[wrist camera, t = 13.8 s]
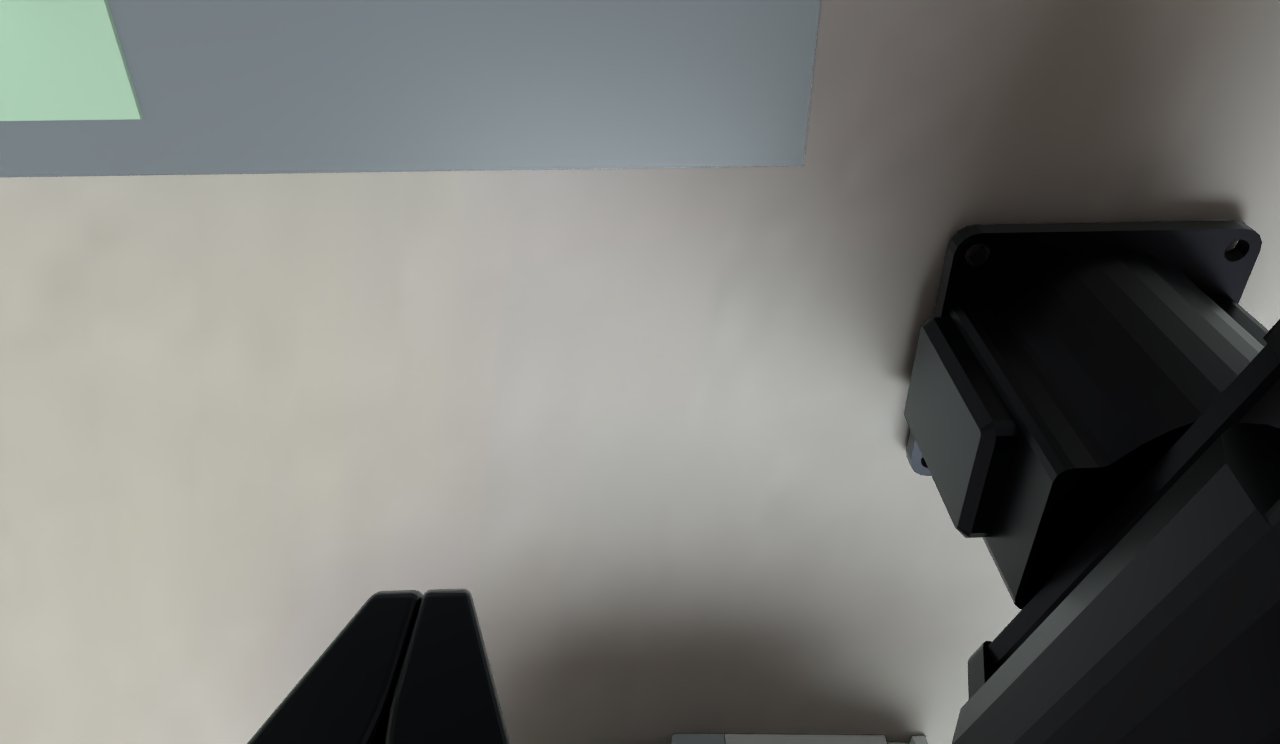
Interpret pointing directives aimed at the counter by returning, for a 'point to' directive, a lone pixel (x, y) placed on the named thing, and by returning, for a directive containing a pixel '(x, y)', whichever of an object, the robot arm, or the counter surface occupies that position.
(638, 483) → the counter surface
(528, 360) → the counter surface
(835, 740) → the circuit breaker
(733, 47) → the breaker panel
